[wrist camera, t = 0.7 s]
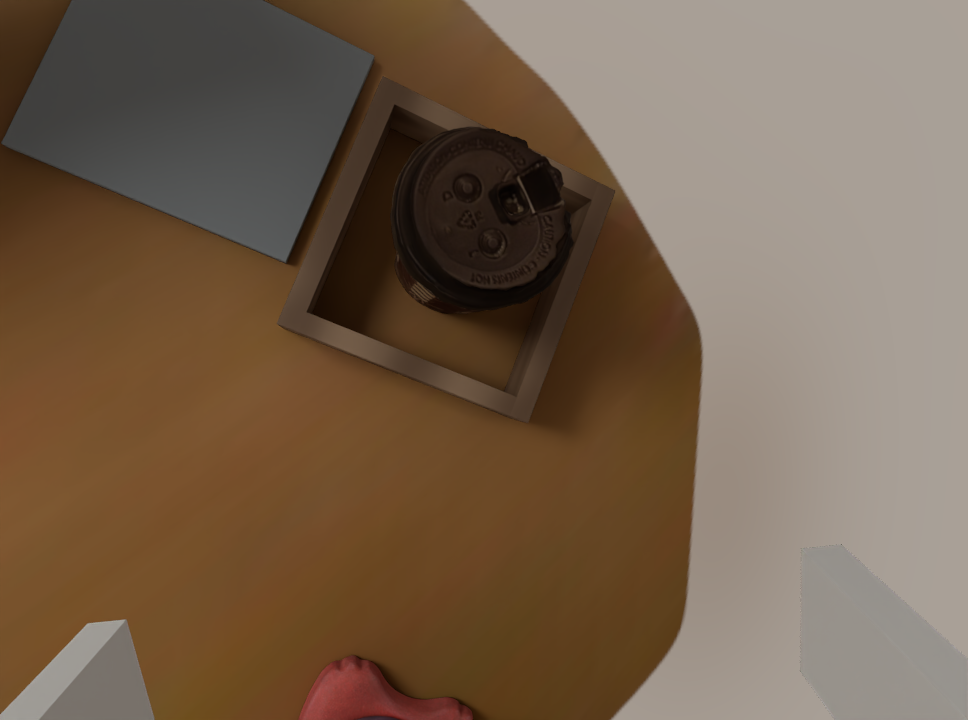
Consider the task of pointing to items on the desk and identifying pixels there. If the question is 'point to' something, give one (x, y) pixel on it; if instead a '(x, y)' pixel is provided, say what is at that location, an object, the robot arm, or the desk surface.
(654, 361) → the desk surface
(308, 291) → the square frame
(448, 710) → the stacking bear
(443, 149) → the coffee cup
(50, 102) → the mat
